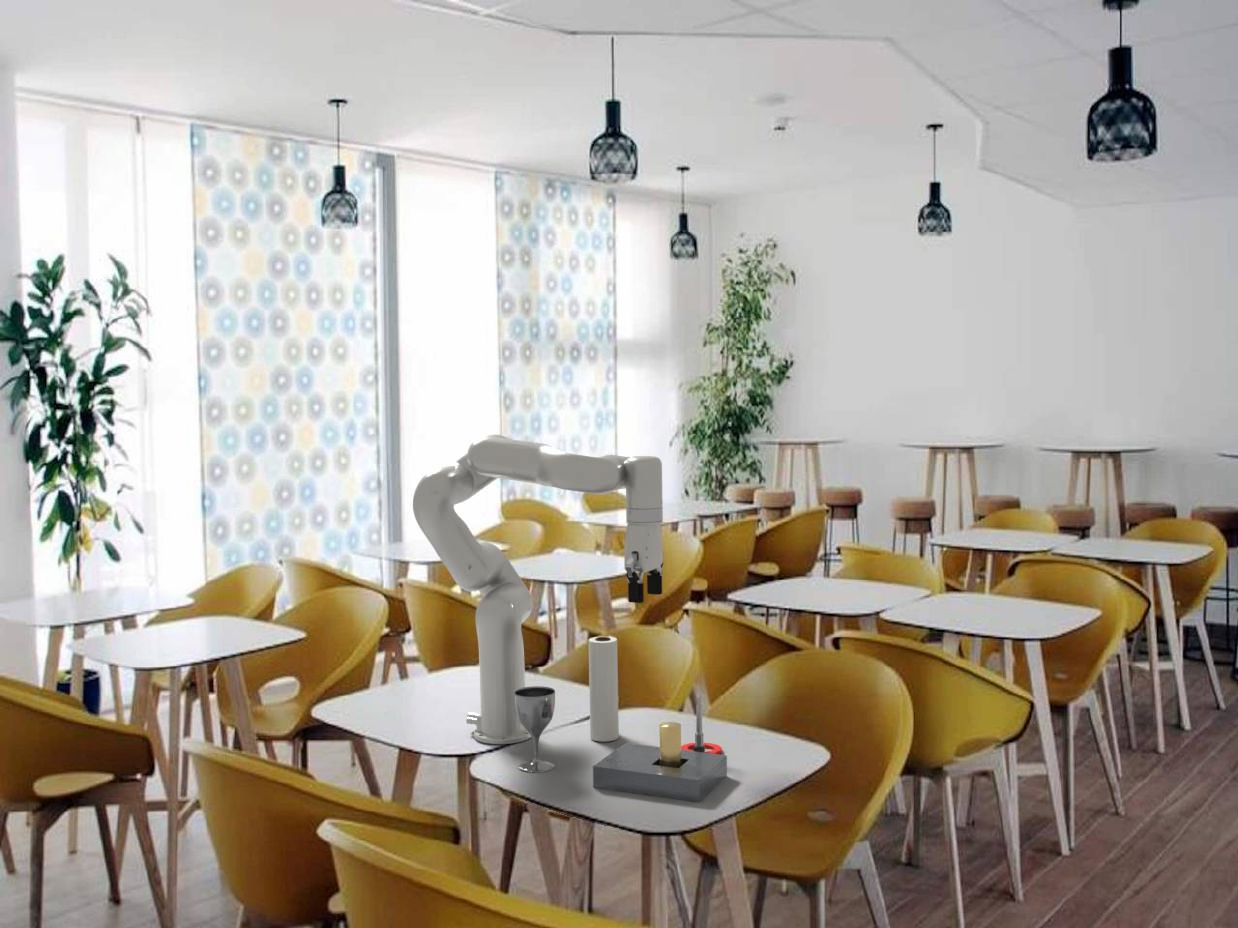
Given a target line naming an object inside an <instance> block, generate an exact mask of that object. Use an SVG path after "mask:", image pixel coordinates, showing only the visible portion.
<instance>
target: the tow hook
mask: <svg viewBox="0 0 1238 928" xmlns="http://www.w3.org/2000/svg"><path fill="white" fill-rule="evenodd" d="M696 698H697V699H696V700H697V701H696V703H697V704H696V705H695V708H696V709H695V711H696V713H695V714H696V715H695V716H696V718H695V719H696V721H695V727H696V729H695V731H696V732H694V733H695V734H694V742H690V743H689V742H688V743H684V744H681V750H687V751H695V752H703V753H711V754H719V755H722V752H723V747H721V746H720V745H718V744H716V743H710V742H704V732H703V704H702V694H700V693H699V694H697V695H696ZM691 748H693V749H691ZM709 748H710V750H707V751H706V749H709Z"/></svg>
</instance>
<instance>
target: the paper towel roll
mask: <svg viewBox="0 0 1238 928" xmlns="http://www.w3.org/2000/svg"><path fill="white" fill-rule="evenodd" d="M618 665H619V664H618V639H617V637H616V636H613V635H610V634H608V636H594V637H590V638H588V672H589V673H588V674H589V675H588V678H589V679H588V681H589V687H588V688H589V726H590V727H589V731H590V732H589V734H590V735H589V737H590V740H592V741H596V742H600V743H601V742H604V743H605V742H613V741H616V740H618V739H619V736H620V735H619V733H620V732H619V731H620V730H619V729H620V728H619V721H620V720H619V677H618V676H619V673H618V672H619V670H618V667H619V666H618Z"/></svg>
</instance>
